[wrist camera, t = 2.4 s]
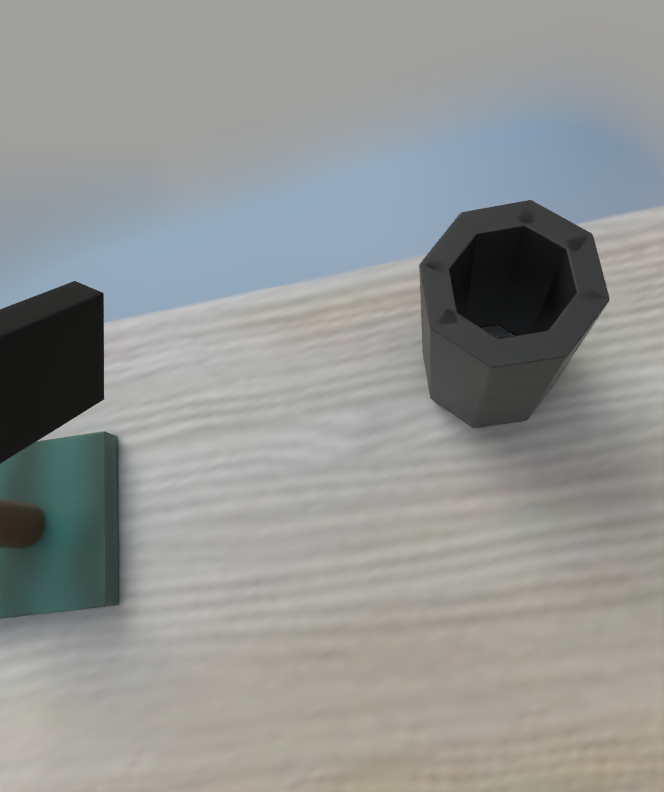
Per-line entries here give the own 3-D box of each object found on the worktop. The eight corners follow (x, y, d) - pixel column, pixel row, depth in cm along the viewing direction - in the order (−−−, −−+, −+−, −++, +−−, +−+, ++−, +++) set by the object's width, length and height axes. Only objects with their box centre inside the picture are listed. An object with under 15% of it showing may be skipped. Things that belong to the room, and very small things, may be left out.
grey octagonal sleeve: (538, 298, 36) (581, 189, 26) (564, 415, 34) (623, 347, 24) (417, 318, 37) (412, 220, 27) (436, 433, 35) (437, 375, 25)
